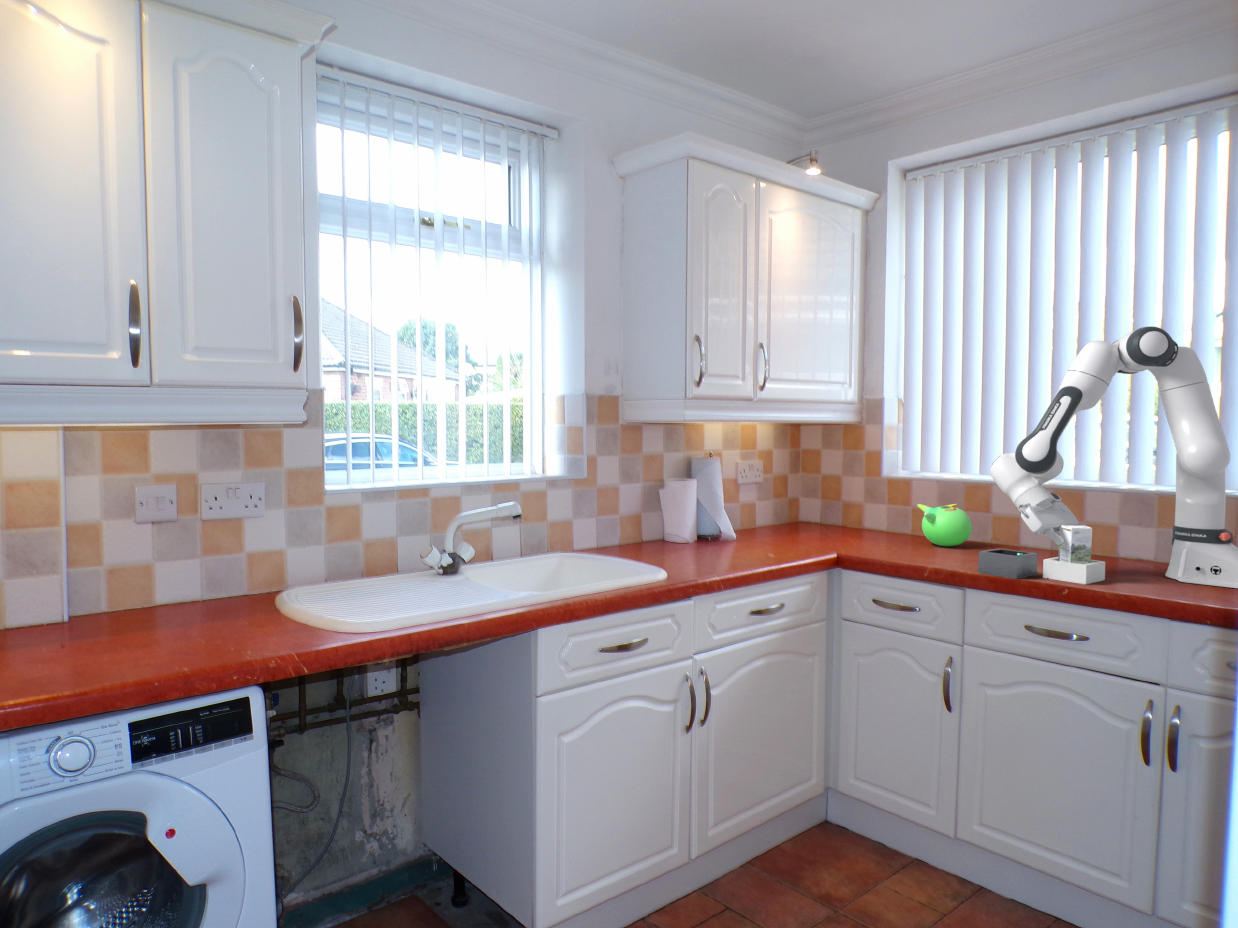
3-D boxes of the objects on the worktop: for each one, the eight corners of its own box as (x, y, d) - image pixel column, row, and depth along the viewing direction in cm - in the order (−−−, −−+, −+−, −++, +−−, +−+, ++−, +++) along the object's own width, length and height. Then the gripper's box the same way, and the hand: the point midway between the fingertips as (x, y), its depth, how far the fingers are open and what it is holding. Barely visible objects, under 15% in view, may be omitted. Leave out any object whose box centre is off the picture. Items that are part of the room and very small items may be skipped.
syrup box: (1077, 577, 221) (1079, 524, 221) (1090, 581, 215) (1092, 526, 215) (1056, 576, 221) (1058, 524, 220) (1069, 580, 215) (1071, 526, 215)
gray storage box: (1037, 574, 224) (1038, 551, 223) (1017, 578, 217) (1017, 554, 217) (998, 569, 232) (999, 546, 232) (978, 572, 226) (978, 549, 226)
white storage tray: (1104, 580, 217) (1105, 561, 217) (1085, 584, 211) (1086, 565, 210) (1062, 573, 226) (1063, 556, 226) (1042, 577, 219) (1043, 559, 219)
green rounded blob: (977, 550, 268) (978, 506, 268) (924, 548, 271) (925, 505, 270) (963, 543, 286) (964, 501, 285) (913, 541, 289) (914, 500, 288)
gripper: (1024, 497, 218) (1060, 537, 211) (1061, 494, 230) (1096, 532, 223) (1007, 512, 222) (1042, 552, 215) (1044, 508, 234) (1078, 546, 227)
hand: (1070, 542), depth 219 cm, fingers open, 8 cm apart
